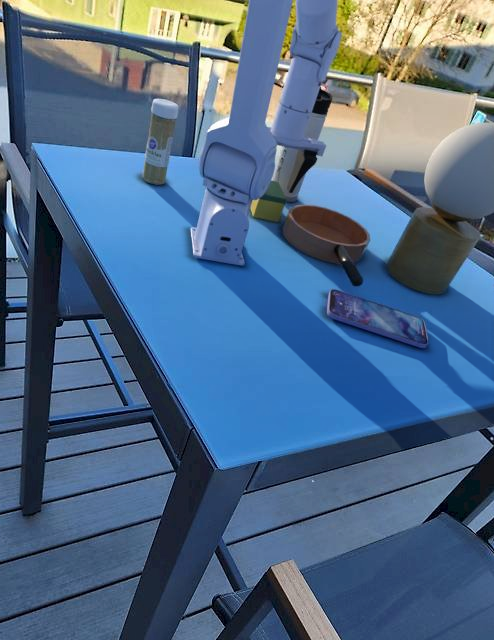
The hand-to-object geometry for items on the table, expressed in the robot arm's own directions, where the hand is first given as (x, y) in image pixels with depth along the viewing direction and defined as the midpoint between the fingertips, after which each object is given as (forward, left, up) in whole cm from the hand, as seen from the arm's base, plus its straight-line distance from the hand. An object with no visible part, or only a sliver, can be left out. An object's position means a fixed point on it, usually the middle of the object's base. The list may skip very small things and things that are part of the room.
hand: (270, 186), depth 91 cm
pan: (-9, -10, -5) cm, 14 cm away
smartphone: (-33, -12, -5) cm, 36 cm away
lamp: (-15, -27, -5) cm, 31 cm away
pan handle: (-22, -10, -3) cm, 24 cm away
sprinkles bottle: (+4, +21, -5) cm, 22 cm away
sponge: (0, 0, -5) cm, 5 cm away
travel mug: (+10, -6, -5) cm, 13 cm away
